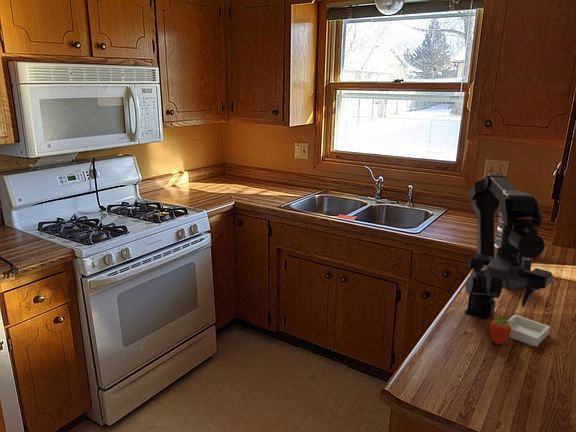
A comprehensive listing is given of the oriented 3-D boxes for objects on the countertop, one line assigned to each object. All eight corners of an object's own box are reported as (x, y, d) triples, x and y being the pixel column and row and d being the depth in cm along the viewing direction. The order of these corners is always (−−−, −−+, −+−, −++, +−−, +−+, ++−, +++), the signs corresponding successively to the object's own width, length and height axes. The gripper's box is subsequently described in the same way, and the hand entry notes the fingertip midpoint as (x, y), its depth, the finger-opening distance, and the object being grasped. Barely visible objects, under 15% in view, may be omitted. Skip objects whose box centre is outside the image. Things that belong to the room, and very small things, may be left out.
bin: (500, 333, 125) (501, 325, 124) (513, 322, 131) (514, 314, 131) (536, 347, 118) (537, 338, 118) (548, 334, 125) (550, 326, 124)
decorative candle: (522, 249, 191) (531, 192, 185) (504, 251, 189) (512, 193, 182) (506, 242, 200) (514, 187, 193) (489, 244, 197) (496, 188, 191)
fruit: (483, 339, 122) (486, 313, 120) (498, 336, 124) (501, 309, 122) (498, 350, 117) (502, 322, 115) (513, 346, 119) (518, 319, 117)
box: (518, 282, 159) (522, 253, 156) (528, 288, 154) (533, 259, 151) (497, 282, 158) (501, 254, 155) (506, 289, 153) (510, 260, 150)
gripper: (462, 241, 114) (455, 298, 118) (542, 261, 101) (531, 324, 105) (481, 232, 121) (474, 286, 126) (558, 250, 108) (547, 309, 113)
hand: (504, 300), depth 117 cm, fingers open, 9 cm apart
